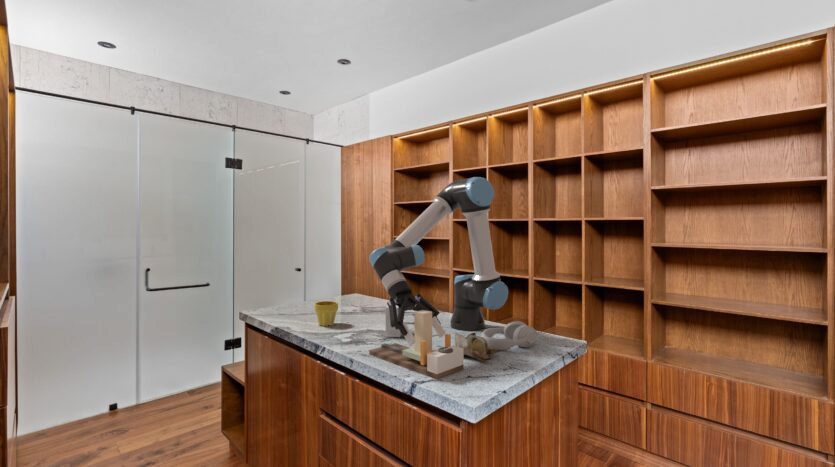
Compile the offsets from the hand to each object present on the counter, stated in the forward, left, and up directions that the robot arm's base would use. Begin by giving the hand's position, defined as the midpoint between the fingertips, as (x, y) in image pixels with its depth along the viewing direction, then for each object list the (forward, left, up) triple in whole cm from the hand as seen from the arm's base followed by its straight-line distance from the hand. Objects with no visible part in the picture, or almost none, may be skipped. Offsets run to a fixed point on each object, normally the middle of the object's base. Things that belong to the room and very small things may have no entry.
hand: (428, 339), depth 127 cm
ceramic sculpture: (-17, -8, -9) cm, 21 cm away
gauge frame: (-2, +3, -6) cm, 7 cm away
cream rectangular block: (-5, +6, -7) cm, 10 cm away
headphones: (-32, -22, -9) cm, 40 cm away
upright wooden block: (+1, -2, -7) cm, 7 cm away
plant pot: (+40, -58, -9) cm, 71 cm away
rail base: (+4, -5, -9) cm, 11 cm away
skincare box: (+10, -37, -9) cm, 39 cm away
